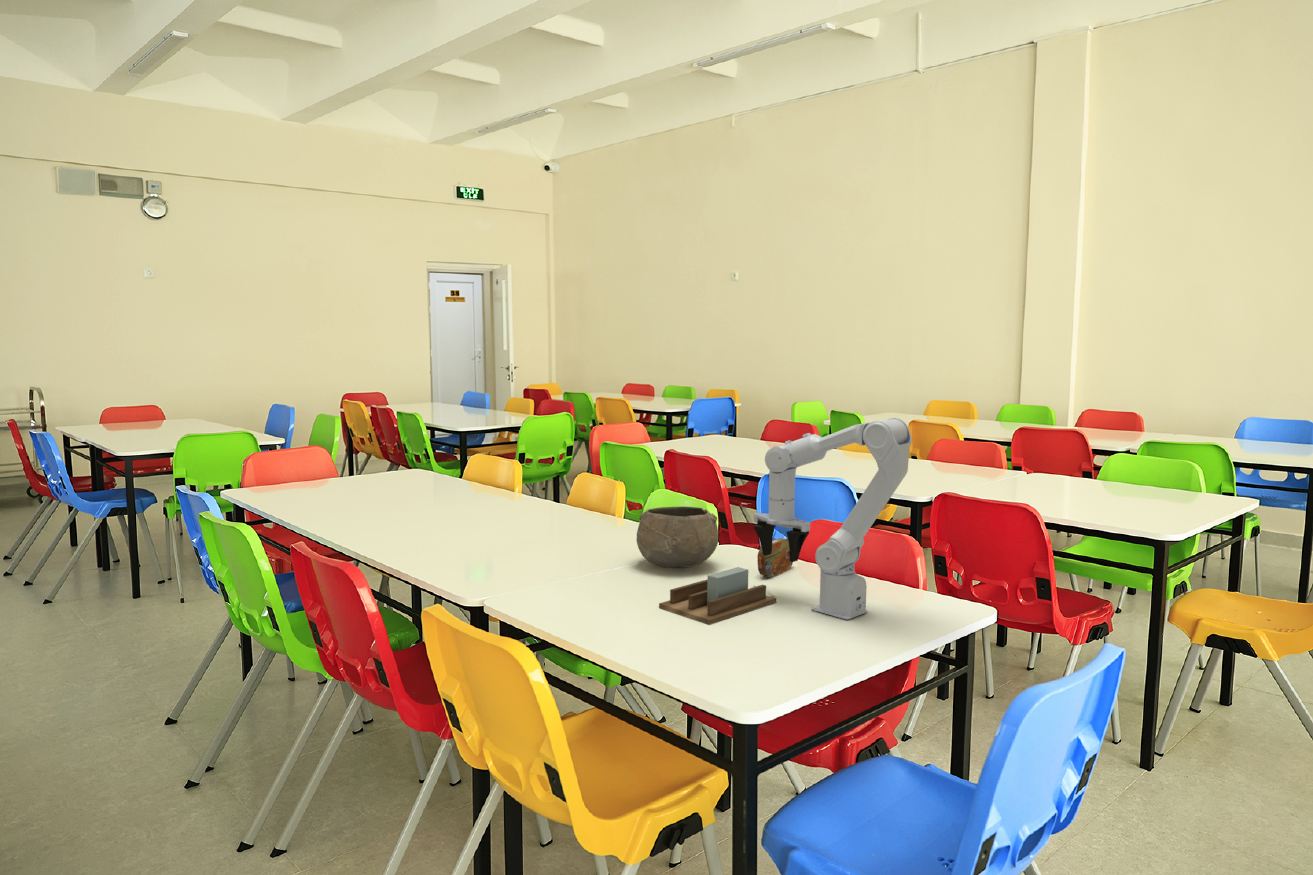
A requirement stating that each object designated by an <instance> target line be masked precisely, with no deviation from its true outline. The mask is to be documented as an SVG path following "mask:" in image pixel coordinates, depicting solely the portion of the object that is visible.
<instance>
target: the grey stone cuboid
mask: <svg viewBox="0 0 1313 875" xmlns="http://www.w3.org/2000/svg"><path fill="white" fill-rule="evenodd" d="M707 579H708V580H707ZM707 579H706V580H707V607H708V601H710V600H713V599H716V598H720V597H723V596H726V595H730V594H733V593H736V592H740V591H743V590H746V589H749V569H747V568H743V567H740V566H737V567H733V568H729V569H725V570H722V571H718V572H715V573H711V574H708V575H707Z"/></svg>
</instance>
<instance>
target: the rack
mask: <svg viewBox="0 0 1313 875" xmlns="http://www.w3.org/2000/svg"><path fill="white" fill-rule="evenodd" d="M707 580H708V578H706V579H705V580H700V581H697V582H693V583H690V584H686V585H682V586H678V587H675V588H671V589H670V590H669V600H666V601H663V602H659V603H658V608H659V609H661V610H664V611H667V612H670V611H671V612H670V613H673V614H676V615H679V616H682V617H686V618H689V619H691V620H695V621H697V622H700V623H704V624H707V625H708V626H709V625H712V624H715V623H718V622H722V621H724V620H727V619H730V618H733V617H736V616H739V615H743V614H746V613H749V612H752V611H755V610H758V609H760V608H764V607H767V606H770V605H773V604H776V603H777V600H778V599H777V597H773V596H770V595H768V594H767V585H766V584H760V585H757V586H754V587H750V588H748V589H746V590H743V591H740V592H736V593H733V594H730V595H726V596H723V597H720V598H716V599H713V600H710V601H708V607H707Z"/></svg>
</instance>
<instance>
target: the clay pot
mask: <svg viewBox="0 0 1313 875" xmlns="http://www.w3.org/2000/svg"><path fill="white" fill-rule="evenodd" d="M638 518H639V519H638V520H639V524H638V527H637V531H636V539H635V540H636V545H637V548H638V549H639V550H638V551H639V552H640V554H641V556H642V557H643V558H644V559H645V560H646V561H647V562H649V563H650V564H652V565H655V566H658V567H662V568H667V569H681V568H682V569H683V568H688V567H690V568H691V567H695V566H698V565H699V564H702V563H704V562H706V561H707V560H708V559H709V558H710V557H711V556H712V555H713V554H714V552H715V551H716V550H717V546H718V544H719V543H718V542H719V529H718V525H717V521H718V517H717V516H716V515H715V514H714V513H713V512H712V513H711V512H710V511H709V510H708V509H707V508H705V509H704V508H703V507H694V506H662V507H661V506H660V507H653V508H649V509H647V510H646V511H643V512H641V514H640V515H639V517H638Z"/></svg>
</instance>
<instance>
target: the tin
mask: <svg viewBox="0 0 1313 875" xmlns="http://www.w3.org/2000/svg"><path fill="white" fill-rule="evenodd" d="M756 556H757V569H758V573H759V574H760V575H761V576H762V577H767V578H771V579H773V578H775V577H777V576H779V574H780V575H782V574H784V573H786V572H788V571H790V570H791V568H792V567H793V564H794V562H790V558H789V541H788V537H787V538H783V537H782V538H781V537H780V538H776V539H774V540H772V552H771V554H770V555H766V556H765V555H763V551H762V546H760V548H759V550H758V552H757V555H756Z"/></svg>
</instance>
